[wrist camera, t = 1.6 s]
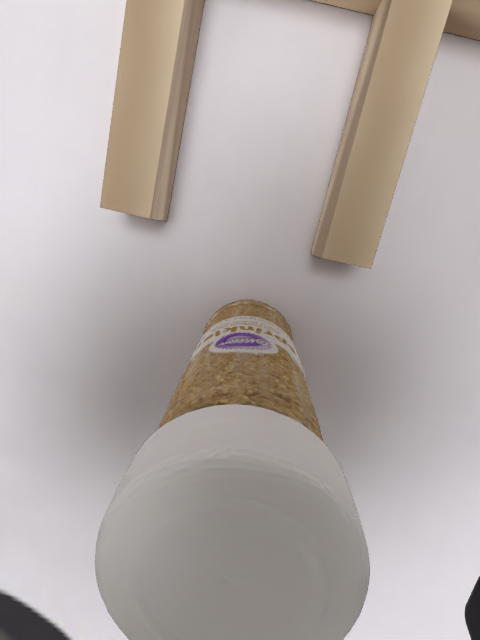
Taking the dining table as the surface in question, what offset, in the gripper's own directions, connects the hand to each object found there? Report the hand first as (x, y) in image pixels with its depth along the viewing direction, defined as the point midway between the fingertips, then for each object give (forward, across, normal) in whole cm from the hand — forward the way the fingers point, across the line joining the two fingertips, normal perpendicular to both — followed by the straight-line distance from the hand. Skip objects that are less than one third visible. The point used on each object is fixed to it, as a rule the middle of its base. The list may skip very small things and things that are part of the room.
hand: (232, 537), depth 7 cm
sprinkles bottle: (+13, 0, 0) cm, 13 cm away
